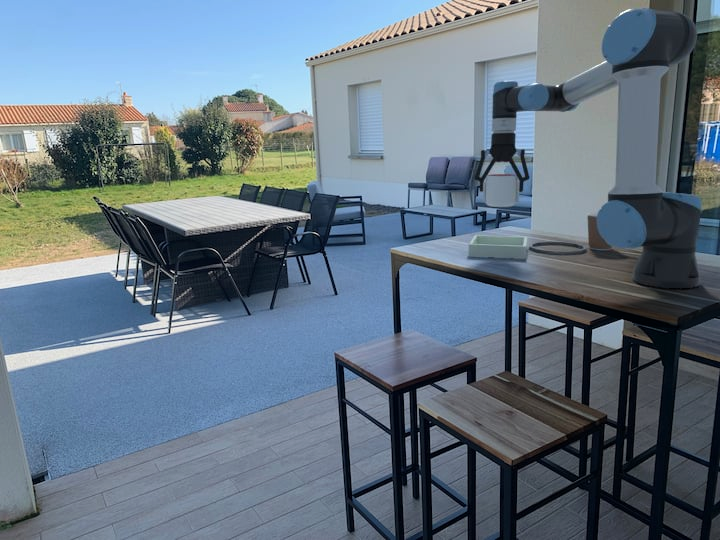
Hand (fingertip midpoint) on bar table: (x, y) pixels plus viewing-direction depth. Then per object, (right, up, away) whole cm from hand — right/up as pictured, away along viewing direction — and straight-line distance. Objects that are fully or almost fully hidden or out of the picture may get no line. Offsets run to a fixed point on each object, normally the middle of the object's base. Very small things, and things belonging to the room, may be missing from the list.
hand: (500, 201), depth 170 cm
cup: (0, -1, 0) cm, 2 cm away
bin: (0, -17, +4) cm, 17 cm away
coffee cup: (+36, -15, +6) cm, 40 cm away
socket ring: (+22, -15, +7) cm, 27 cm away
